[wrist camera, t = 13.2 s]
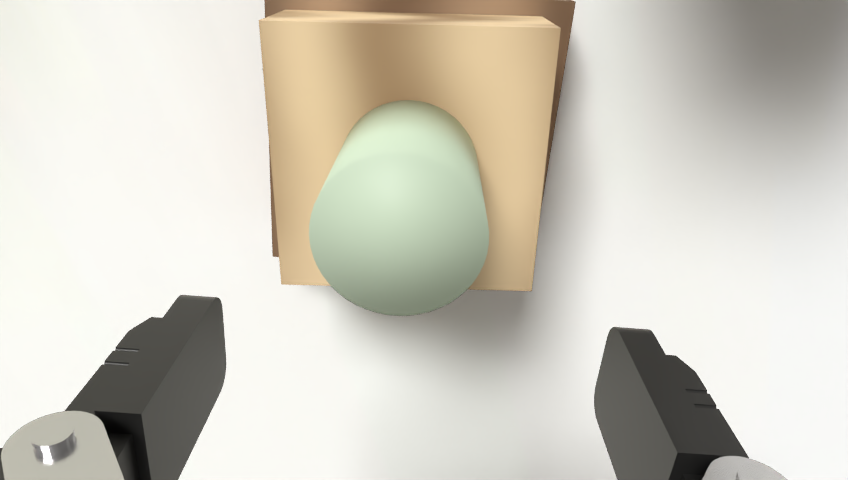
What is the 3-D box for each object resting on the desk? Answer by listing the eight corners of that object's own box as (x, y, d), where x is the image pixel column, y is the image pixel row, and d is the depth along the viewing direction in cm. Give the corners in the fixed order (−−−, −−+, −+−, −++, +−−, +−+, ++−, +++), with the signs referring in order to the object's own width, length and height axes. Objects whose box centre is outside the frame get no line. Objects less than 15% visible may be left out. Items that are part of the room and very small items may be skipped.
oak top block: (541, 16, 24) (560, 28, 21) (519, 247, 28) (531, 291, 25) (285, 9, 24) (258, 20, 21) (300, 241, 28) (281, 284, 25)
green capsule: (482, 102, 22) (496, 156, 16) (472, 233, 24) (482, 319, 18) (338, 97, 22) (304, 148, 16) (342, 228, 24) (313, 312, 18)
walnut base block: (557, -6, 28) (575, 1, 24) (519, 239, 33) (529, 275, 29) (286, -28, 27) (264, -24, 24) (290, 222, 32) (272, 256, 29)
